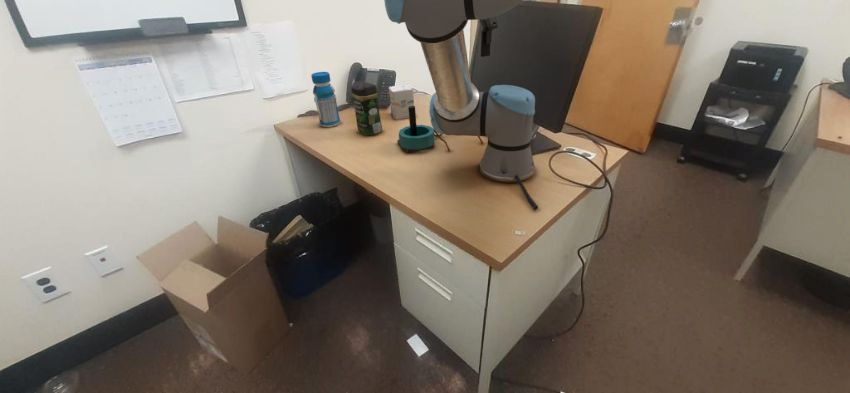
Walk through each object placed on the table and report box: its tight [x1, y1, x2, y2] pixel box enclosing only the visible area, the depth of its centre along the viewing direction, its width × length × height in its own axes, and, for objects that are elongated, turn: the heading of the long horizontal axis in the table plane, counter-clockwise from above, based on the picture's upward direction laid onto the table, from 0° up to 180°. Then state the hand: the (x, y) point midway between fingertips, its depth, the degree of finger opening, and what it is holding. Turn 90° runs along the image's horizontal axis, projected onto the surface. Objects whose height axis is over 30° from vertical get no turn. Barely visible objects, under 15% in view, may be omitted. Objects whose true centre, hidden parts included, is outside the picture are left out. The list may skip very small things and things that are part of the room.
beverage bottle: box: [311, 71, 341, 128], centre depth 137 cm, size 8×8×20 cm
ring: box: [398, 124, 436, 150], centre depth 116 cm, size 12×12×4 cm
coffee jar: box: [350, 80, 383, 137], centre depth 127 cm, size 10×8×19 cm
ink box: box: [388, 83, 415, 121], centre depth 143 cm, size 9×8×12 cm
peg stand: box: [396, 105, 433, 154], centre depth 116 cm, size 9×9×14 cm
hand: (471, 53), depth 104 cm, fingers open, 13 cm apart
